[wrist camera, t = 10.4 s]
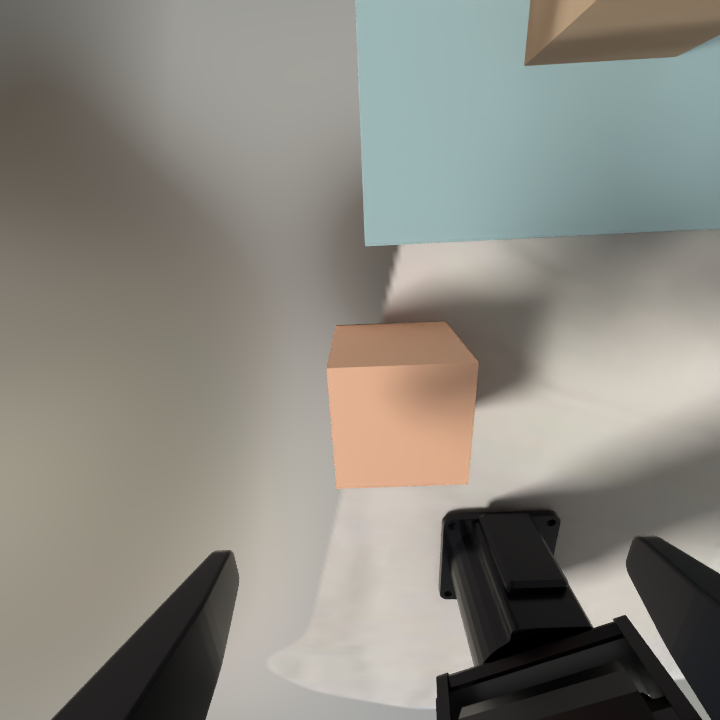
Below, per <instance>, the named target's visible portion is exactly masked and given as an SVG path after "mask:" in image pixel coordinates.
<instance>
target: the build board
mask: <svg viewBox="0 0 720 720" xmlns="http://www.w3.org/2000/svg"><path fill="white" fill-rule="evenodd" d="M355 5H356V6H355V7H356V31H357V56H358V81H359V106H360V131H361V155H362V181H363V203H364V204H363V205H364V229H365V230H364V231H365V246H378V245H400V244H420V243H440V242H460V241H480V240H500V239H520V238H540V237H560V236H581V235H601V234H621V233H641V232H661V231H681V230H701V229H720V35H719V36H717V37H715V38H713V39H711V40H709V41H707V42H705V43H703V44H701V45H699V46H697V47H695V48H693V49H691V50H689V51H687V52H685V53H683V54H681V55H679V56H677V57H668V58H651V59H634V60H617V61H601V62H584V63H567V64H550V65H534V66H524V61H525V50H526V40H527V30H528V20H529V9H530V0H355Z"/></svg>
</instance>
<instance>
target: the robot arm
mask: <svg viewBox="0 0 720 720" xmlns="http://www.w3.org/2000/svg"><path fill="white" fill-rule="evenodd" d="M451 523H453V524H451ZM559 527H560V519H559V517H558V516H557V514H556V513H555V512H554V511H550V510H546V511H520V512H495V513H469V514H450V515H447V516H445V517H444V518H443V520H442V532H441V552H440V572H439V592H440V596H441V597H442V598H444V599H457V601H458V605H459V609H460V613H461V617H462V621H463V625H464V629H465V633H466V636H467V640H468V644H469V648H470V652H471V656H472V660H473V664H474V667H472V668H469V669H466V670H462V671H459V672H456V673H453V674H450V675H449V674H448V673H445V674H442V675H439V676H437V677H436V681H437V698H436V712H437V720H702V719H701V717H700V716H699V715H698V713H697V712H696V710H695V709H694V708H693V706H692V705H691V704H690V702H689V701H688V699H687V698H686V697H685V695H684V694H683V693H682V691H681V690H680V689H679V687H678V686H677V684H676V683H675V682H674V680H673V679H672V678H671V676H670V675H669V674H668V672H667V671H666V669H665V668H664V667H663V665H662V664H661V663H660V661H659V660H658V659H657V657H656V656H655V654H654V653H653V652H652V650H651V649H650V648H649V646H648V645H647V644H646V642H645V641H644V639H643V638H642V637H641V635H640V634H639V633H638V631H637V630H636V629H635V627H634V626H633V624H632V623H631V622H630V620H629V619H628V618H627V616H626V615H623V616H620V617H617V618H614V619H613V621H614V622H611V623H608V624H605V625H602V626H598V627H595V628H593V626H592V624H591V623H590V621H589V619H588V617H587V616H586V614H585V612H584V610H583V609H582V607H581V605H580V603H579V602H578V600H577V598H576V596H575V595H574V593H573V591H572V589H571V588H570V586H569V584H568V581H567V579H566V577H565V575H564V574H563V572H562V570H561V568H560V567H559V565H558V563H557V561H556V560H555V558H554V556H553V555H554V550H555V546H556V541H557V536H558V531H559ZM626 568H627V571H628V574H629V576H630V578H631V580H632V582H633V584H634V586H635V588H636V590H637V591H638V593H639V595H640V597H641V599H642V601H643V603H644V605H645V607H646V609H647V611H648V613H649V615H650V616H651V618H652V620H653V622H654V624H655V626H656V628H657V630H658V632H659V634H660V636H661V638H662V639H663V641H664V643H665V645H666V647H667V648H668V650H669V652H670V654H671V655H672V657H673V659H674V660H675V662H676V664H677V665H678V667H679V669H680V670H681V672H682V674H683V675H684V677H685V678H686V680H687V682H688V683H689V685H690V686H691V688H692V689H693V691H694V693H695V694H696V696H697V698H698V699H699V701H700V702H701V704H702V705H703V707H704V709H705V710H706V712H707V714H708V715H709V717H710V718H711V720H720V574H719V573H718V572H716V571H714V570H713V569H711V568H709V567H708V566H706V565H704V564H703V563H701V562H699V561H698V560H696V559H694V558H693V557H691V556H690V555H688V554H686V553H685V552H683V551H681V550H680V549H678V548H676V547H675V546H673V545H671V544H670V543H668V542H666V541H665V540H663V539H661V538H659V537H657V536H654V535H643V536H636V537H634V538H633V540H632V543H631V546H630V550H629V553H628V556H627V559H626ZM238 586H239V573H238V569H237V565H236V561H235V557H234V554H233V552H232V551H231V550H218V551H214V552H212V553H211V554H210V555H209V556H208V557H207V558H206V559H205V560H204V561H203V562H202V563H201V564H200V565H199V567H197V569H196V570H195V571H194V572H193V573H192V574H191V575H190V576H189V577H188V578H187V579H186V580H185V581H184V582H183V583H182V584H181V585H180V586H179V587H178V589H176V590H175V591H174V592H173V593H172V594H171V595H170V597H169V598H168V599H167V600H166V601H165V602H164V603H163V604H162V605H161V606H160V607H159V608H158V609H157V610H156V611H155V612H154V613H153V614H152V615H151V616H150V617H149V618H148V619H147V620H146V621H145V623H144V624H143V625H142V626H141V627H140V628H139V629H138V630H137V631H136V632H135V633H134V634H133V635H132V636H131V637H130V638H129V639H128V640H127V641H126V642H125V643H124V644H123V645H122V646H121V648H119V650H118V651H117V652H116V653H115V654H114V655H113V656H112V657H111V658H110V659H109V660H108V661H107V662H106V663H105V664H104V665H103V666H102V667H101V668H100V669H99V670H98V672H97V673H95V674H94V676H93V677H92V678H91V679H90V680H89V681H88V682H87V683H86V684H85V685H84V686H83V687H82V688H81V689H80V690H79V691H78V692H77V693H76V694H75V695H74V696H73V697H72V698H71V699H70V700H69V701H68V702H67V704H66V705H65V706H64V707H63V708H62V709H61V710H60V711H59V712H58V713H57V714H56V715H55V716H54V717H53V718H52V720H205V719H206V716H207V713H208V710H209V706H210V703H211V700H212V696H213V693H214V690H215V687H216V684H217V680H218V677H219V673H220V670H221V666H222V661H223V658H224V653H225V648H226V644H227V639H228V634H229V629H230V625H231V620H232V615H233V610H234V606H235V601H236V596H237V591H238ZM648 694H649V695H650V696H648Z"/></svg>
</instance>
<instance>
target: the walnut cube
mask: <svg viewBox="0 0 720 720" xmlns="http://www.w3.org/2000/svg"><path fill="white" fill-rule="evenodd" d="M719 35H720V0H530V9H529V20H528V30H527V40H526V50H525V61H524V66H534V65H550V64H567V63H584V62H601V61H617V60H634V59H651V58H668V57H677V56H679V55H681V54H683V53H685V52H687V51H689V50H691V49H693V48H695V47H697V46H699V45H701V44H703V43H705V42H707V41H709V40H711V39H713V38H715V37H717V36H719Z"/></svg>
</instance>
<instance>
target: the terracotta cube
mask: <svg viewBox="0 0 720 720" xmlns="http://www.w3.org/2000/svg"><path fill="white" fill-rule="evenodd" d="M478 367H479V362H478V361H477V359H476V358H475V357H474V356H473V355H472V353H471V352H470V351H469V350H468V348H467V347H466V346H465V345H464V343H463V342H462V341H461V340H460V339H459V337H458V336H457V335H456V334H455V332H454V331H453V330H452V329H451V328H450V326H449V325H448V324H447V323H446V321H441V322H416V323H391V324H381V323H379V324H356V325H336V327H335V332H334V336H333V341H332V346H331V351H330V355H329V360H328V364H327V379H328V391H329V403H330V415H331V426H332V439H333V451H334V462H335V475H336V488H337V489H340V488H369V487H399V486H428V485H458V484H468V479H469V468H470V457H471V446H472V434H473V423H474V412H475V401H476V390H477V379H478Z"/></svg>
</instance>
